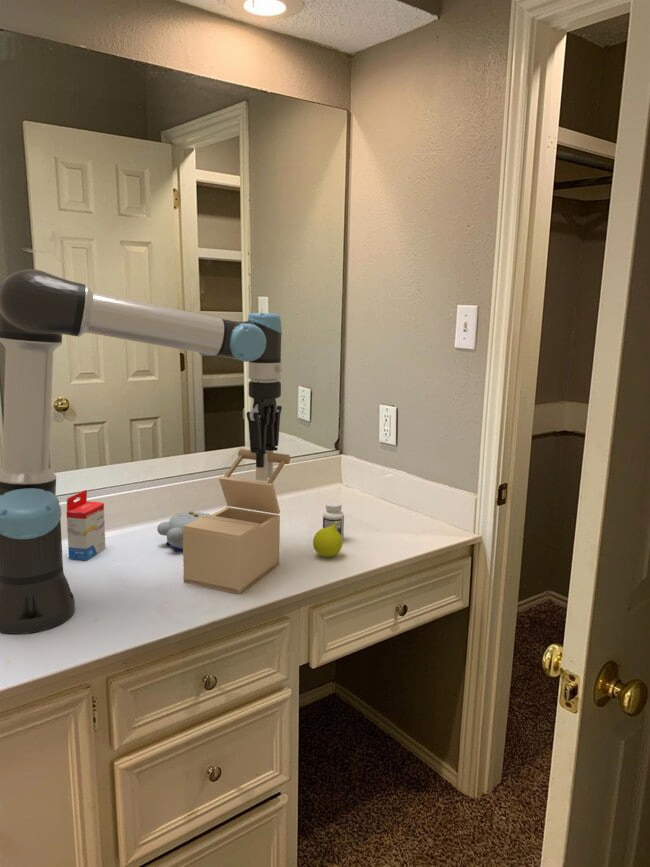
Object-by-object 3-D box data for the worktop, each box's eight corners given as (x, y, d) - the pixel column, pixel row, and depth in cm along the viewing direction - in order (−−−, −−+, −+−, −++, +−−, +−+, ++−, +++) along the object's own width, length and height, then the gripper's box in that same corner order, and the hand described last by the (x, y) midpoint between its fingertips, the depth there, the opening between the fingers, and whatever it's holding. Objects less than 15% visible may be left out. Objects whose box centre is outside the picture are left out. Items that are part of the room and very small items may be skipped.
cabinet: (240, 594, 136) (240, 535, 134) (183, 582, 141) (182, 525, 139) (279, 564, 152) (279, 511, 150) (227, 554, 158) (227, 503, 155)
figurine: (177, 561, 152) (250, 552, 165) (180, 525, 151) (253, 519, 164) (146, 539, 166) (216, 533, 178) (149, 507, 164) (219, 502, 177)
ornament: (347, 559, 157) (348, 519, 155) (320, 563, 154) (322, 522, 152) (333, 549, 163) (334, 510, 161) (307, 553, 160) (308, 514, 158)
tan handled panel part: (227, 506, 155) (248, 476, 163) (278, 514, 150) (297, 482, 158) (218, 476, 150) (239, 447, 158) (271, 483, 145) (290, 453, 153)
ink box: (87, 561, 152) (84, 500, 149) (67, 559, 153) (64, 498, 150) (106, 548, 160) (104, 490, 157) (88, 546, 161) (85, 488, 158)
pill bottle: (328, 535, 173) (329, 499, 171) (346, 539, 171) (347, 503, 169) (318, 541, 169) (319, 504, 167) (337, 545, 166) (338, 508, 164)
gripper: (263, 384, 144) (263, 488, 148) (293, 378, 157) (292, 473, 162) (233, 382, 146) (234, 484, 151) (266, 376, 160) (265, 470, 165)
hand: (264, 478), depth 156 cm, fingers closed on tan handled panel part, 2 cm apart
